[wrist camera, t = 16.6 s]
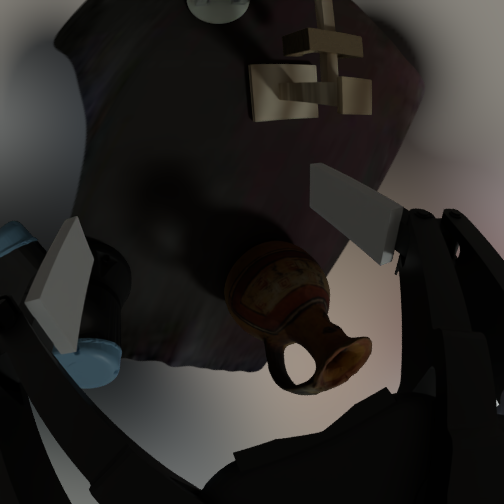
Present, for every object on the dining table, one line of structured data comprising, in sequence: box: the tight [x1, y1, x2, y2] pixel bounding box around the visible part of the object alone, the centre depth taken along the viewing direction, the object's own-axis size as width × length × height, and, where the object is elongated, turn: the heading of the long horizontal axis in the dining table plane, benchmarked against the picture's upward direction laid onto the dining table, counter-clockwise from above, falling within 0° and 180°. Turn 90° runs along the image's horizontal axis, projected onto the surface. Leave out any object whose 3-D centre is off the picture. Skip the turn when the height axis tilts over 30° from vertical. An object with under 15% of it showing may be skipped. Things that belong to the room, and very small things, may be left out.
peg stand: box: [248, 0, 372, 122], centre depth 30 cm, size 12×22×20 cm, turn 4°
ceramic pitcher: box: [224, 241, 372, 395], centre depth 49 cm, size 20×20×30 cm
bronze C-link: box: [282, 28, 363, 59], centre depth 27 cm, size 8×3×7 cm, turn 94°
